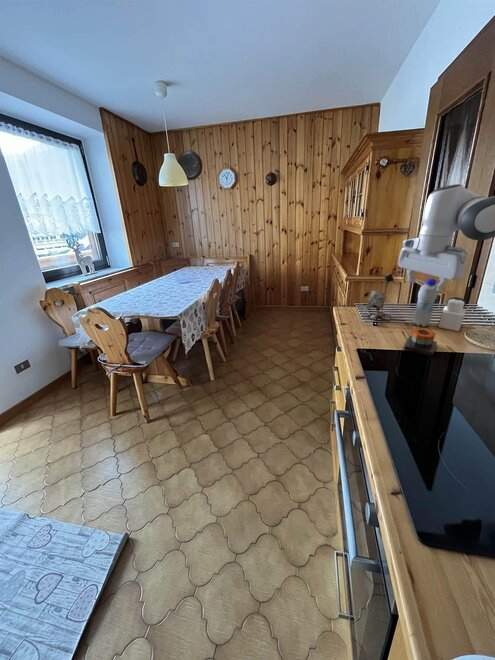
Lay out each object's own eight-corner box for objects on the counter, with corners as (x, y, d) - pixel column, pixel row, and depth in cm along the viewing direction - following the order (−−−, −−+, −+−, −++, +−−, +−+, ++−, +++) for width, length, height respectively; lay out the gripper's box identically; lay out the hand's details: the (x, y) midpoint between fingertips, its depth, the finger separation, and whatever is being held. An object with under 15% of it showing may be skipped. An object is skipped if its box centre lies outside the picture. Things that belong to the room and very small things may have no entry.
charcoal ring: (433, 342, 104) (434, 338, 103) (430, 350, 99) (431, 346, 98) (412, 337, 107) (413, 333, 107) (408, 345, 103) (409, 341, 102)
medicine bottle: (440, 321, 121) (448, 294, 116) (461, 324, 117) (469, 297, 111) (437, 327, 116) (445, 300, 111) (458, 331, 112) (467, 303, 107)
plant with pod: (366, 311, 134) (372, 270, 125) (392, 316, 128) (400, 273, 119) (362, 318, 128) (367, 275, 119) (388, 323, 122) (397, 278, 113)
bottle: (425, 321, 122) (436, 276, 113) (432, 328, 116) (445, 281, 107) (408, 321, 123) (418, 276, 114) (415, 328, 117) (426, 281, 108)
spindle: (436, 345, 104) (440, 330, 102) (432, 356, 98) (436, 341, 95) (409, 339, 109) (412, 325, 107) (404, 349, 103) (407, 335, 100)
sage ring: (434, 338, 103) (435, 334, 102) (431, 346, 98) (432, 342, 97) (413, 333, 107) (414, 330, 106) (409, 341, 102) (410, 337, 101)
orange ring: (435, 334, 102) (436, 330, 101) (432, 342, 97) (433, 338, 97) (414, 330, 106) (415, 326, 105) (410, 337, 101) (411, 333, 100)
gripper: (475, 247, 80) (462, 293, 86) (412, 238, 97) (404, 277, 103) (461, 250, 78) (448, 297, 84) (398, 240, 95) (391, 280, 101)
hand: (423, 286), depth 94 cm, fingers open, 8 cm apart
